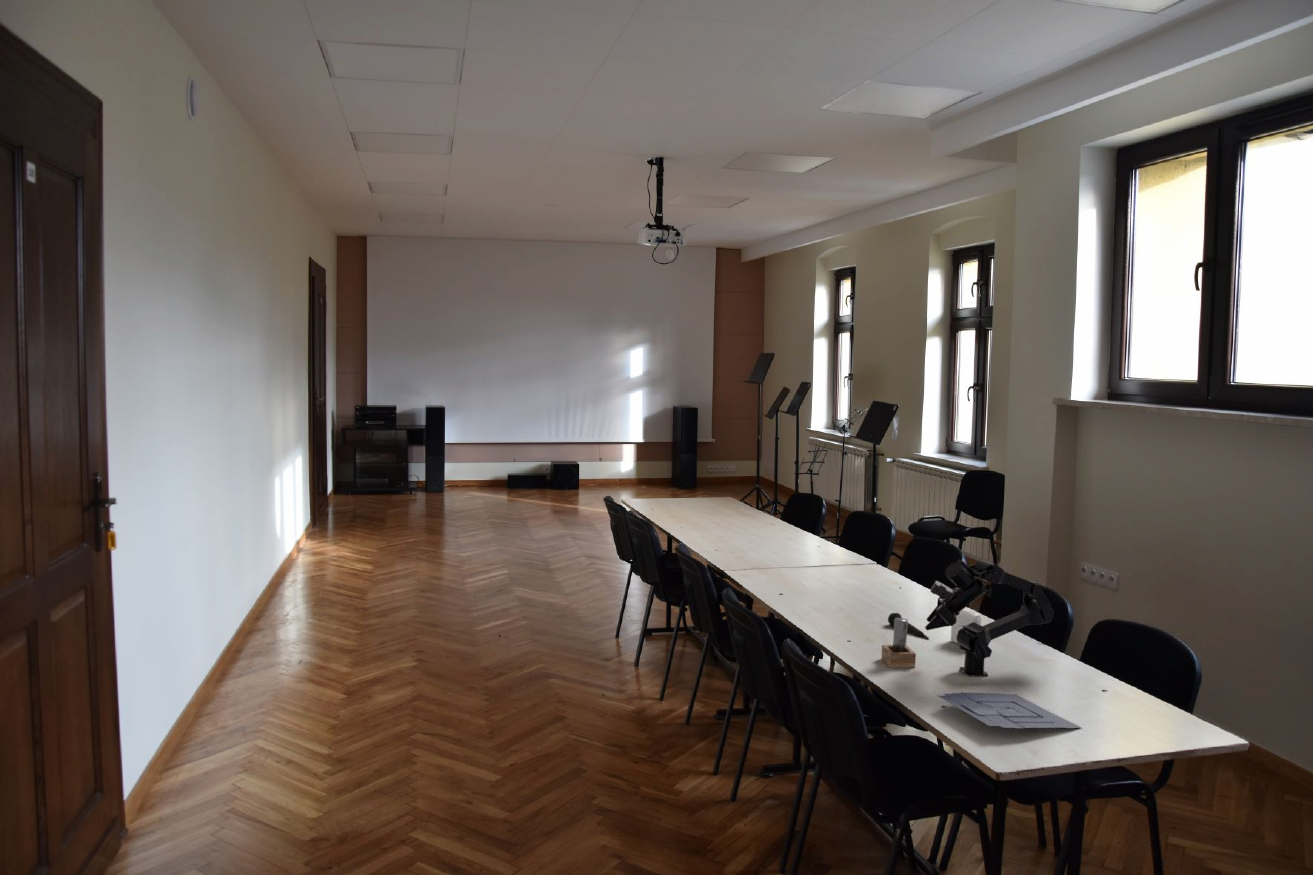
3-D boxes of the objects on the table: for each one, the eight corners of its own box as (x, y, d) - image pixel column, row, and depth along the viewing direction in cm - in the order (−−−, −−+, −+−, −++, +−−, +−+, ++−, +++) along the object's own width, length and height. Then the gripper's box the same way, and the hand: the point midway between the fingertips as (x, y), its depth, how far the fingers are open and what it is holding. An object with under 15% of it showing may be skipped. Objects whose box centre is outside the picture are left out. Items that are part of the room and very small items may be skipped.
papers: (930, 702, 242) (932, 689, 241) (1013, 702, 253) (1015, 690, 252) (992, 739, 219) (995, 725, 219) (1081, 738, 230) (1083, 724, 230)
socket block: (915, 667, 272) (915, 653, 272) (890, 667, 272) (891, 653, 271) (905, 658, 280) (906, 644, 280) (881, 658, 279) (882, 645, 279)
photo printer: (948, 640, 299) (950, 605, 298) (957, 639, 301) (959, 604, 300) (972, 650, 290) (975, 614, 289) (981, 648, 292) (983, 612, 291)
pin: (907, 658, 275) (910, 620, 274) (900, 661, 273) (902, 622, 272) (896, 655, 278) (899, 617, 277) (889, 657, 276) (892, 619, 275)
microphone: (930, 647, 302) (892, 625, 318) (936, 632, 301) (897, 611, 317) (920, 644, 299) (882, 622, 315) (926, 630, 299) (888, 608, 315)
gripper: (948, 567, 277) (910, 597, 282) (947, 581, 260) (906, 612, 264) (973, 594, 275) (934, 624, 280) (973, 610, 258) (932, 641, 263)
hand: (926, 624), depth 272 cm, fingers open, 9 cm apart
